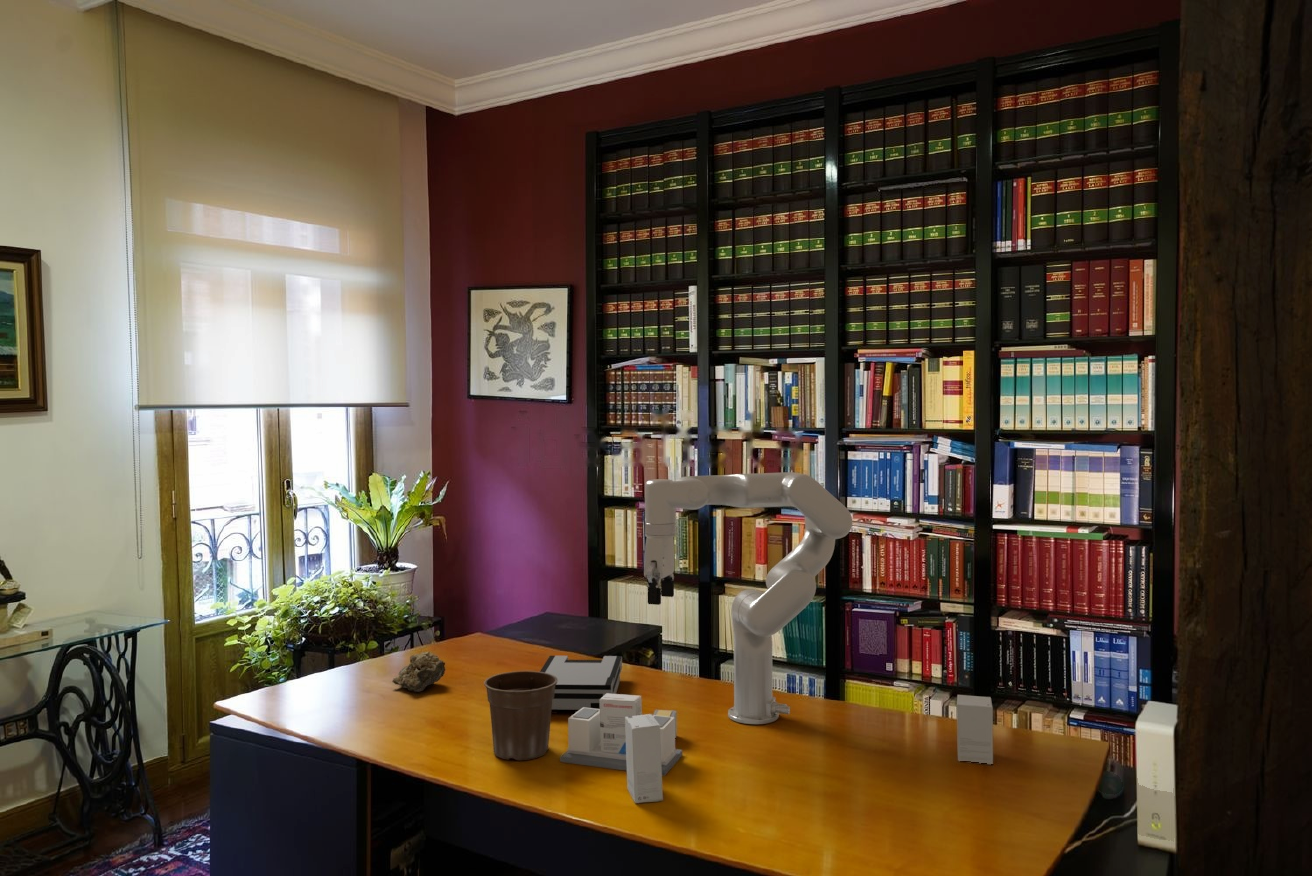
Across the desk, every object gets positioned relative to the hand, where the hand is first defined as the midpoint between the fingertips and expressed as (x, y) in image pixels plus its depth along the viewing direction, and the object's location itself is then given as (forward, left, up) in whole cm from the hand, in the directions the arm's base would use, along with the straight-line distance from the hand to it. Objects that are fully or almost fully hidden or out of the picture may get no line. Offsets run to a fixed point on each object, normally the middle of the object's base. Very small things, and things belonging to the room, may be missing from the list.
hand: (661, 600), depth 218 cm
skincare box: (-10, +40, -31) cm, 51 cm away
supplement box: (-72, -1, -31) cm, 78 cm away
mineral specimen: (+75, -7, -31) cm, 81 cm away
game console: (+29, -14, -31) cm, 44 cm away
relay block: (-4, +10, -30) cm, 32 cm away
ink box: (+1, +24, -28) cm, 37 cm away
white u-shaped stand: (+1, +24, -30) cm, 39 cm away
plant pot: (+24, +27, -31) cm, 47 cm away
